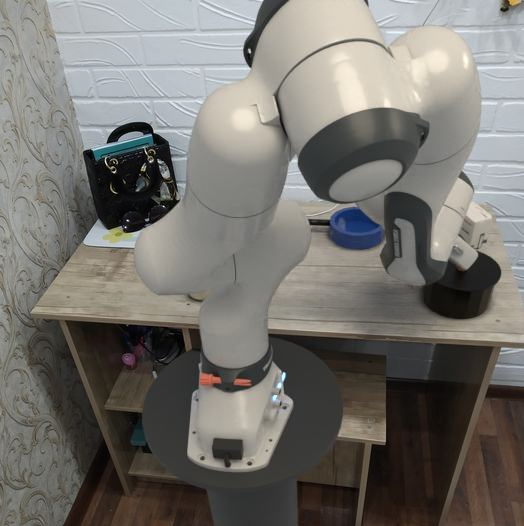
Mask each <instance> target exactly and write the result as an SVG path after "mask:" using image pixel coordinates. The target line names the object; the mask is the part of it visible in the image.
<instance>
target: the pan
mask: <svg viewBox="0 0 524 526" xmlns="http://www.w3.org/2000/svg"><path fill="white" fill-rule="evenodd" d="M329 220H330V226H329V230H328V231H329V233H328V234H329V238H330V240H331V241H332V242H333V243H334V244H335V245H337V246H339V247H341V248H344V249H348V250H357V251H359V250H368V249H372V248H374V247H376V246H378V245H380V244H381V243H382V242H383V241H384V239H385V238H386V236H385V230H384V229H383V228H382V226H381V225H380V224H377V223H375V222H374V221H372V220H371V219H370V218H369V217H368V216H367V215H365V214H364V213H363V212H362V211H361V210H360V209H359V207H358V206H348V207H343V208H341V209H339V210H336V211H335V212H334V213H333V214H332V215H331V216H330V218H329Z"/></svg>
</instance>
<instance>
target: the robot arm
mask: <svg viewBox="0 0 524 526" xmlns="http://www.w3.org/2000/svg"><path fill="white" fill-rule="evenodd" d="M369 5H370V4H369V0H262V2H261V4H260V6H259V9H258V11H257V14H256V18H255V21H254V26H253V30H251V32H250V34H249V35H248V36H247V37H246V38H245V40H244V42H243V48H242V53H243V58H244V61H245V62H246V64H247V66H248V68H249V69H250V71H249V72H248V74H247V76H245V77H244V78H243V79H241V80H239V81H235V82H234V81H233V82H231V83H226V84H224V85H221V86H219V87H217V88H216V89H215V90H213V91H212V92H211V93H209V94H208V95H207V97H206V98H205V99H204V100H203V102H202V103H201V105H200V107H199V109H198V111H197V114H196V116H195V120H194V123H193V125H192V129H191V134H190V137H189V141H188V147H187V153H186V154H187V155H186V173H185V176H186V177H185V179H186V180H185V190H184V195H183V196H182V197H181V199H180V200H179V202H177V203H176V205H175V206H174V207H173V208H172V209H171V210H170V211H168V212H167V214H165V215H164V216H163V217H161V218H160V219H159V220H157V221H156V222H154V223H152V224H150V225H149V226H147V227H145V228H142V229H141V231H140V232H139V234H138V236H137V238H136V240H135V244H134V248H133V264H134V267H135V271H136V273H137V276H138V277H139V279H140V280H141V282H142V283H143V285H144V286H146V288H148V290H150V291H151V292H152V293H154V294H156V295H157V296H180V295H181V296H182V295H189V294H194V293H198V292H202V291H206V290H210V289H214V288H215V289H214V290H213V291H211V292H210V293H209V294H208V295H207V296H206V297H205V299H203V300H202V302H201V305H200V307H199V310H198V313H197V323H198V329H199V335H200V341H201V345H200V349H201V355H200V360H201V363H200V364H199V369H200V376H199V389H198V390H196V391H194V392H193V394H192V403H191V414H190V426H189V437H188V449H187V455H188V458H189V459H190V460H191V461H192V462H193V463H195V464H197V465H199V466H202V467H204V468H208V469H212V470H217V471H224V472H250V471H255V470H259V469H262V468H264V467H266V466H267V465H268V463H269V461H270V459H271V457H272V455H273V452H274V450H275V448H276V446H277V443H278V441H279V439H280V436H281V434H282V432H283V430H284V427H285V425H286V423H287V421H288V418H289V416H290V414H291V412H292V409H293V407H294V405H293V401H292V399H291V398H289V397H288V396H287V395H285V394H284V389H283V380H284V378H285V373H283V375H282V372H281V370H280V369H279V368H278V367H277V366H276V364H275V363H274V362H273V361H272V355H273V354H272V353H273V351H272V345H271V341H270V338H269V337H270V336H269V313H270V307H271V304H272V301H273V298H274V297H275V294H276V293H277V291H278V289H279V288H280V286H281V284H282V283H283V281H284V280H285V279H286V277H287V276H288V275H289V274H290V273H291V272H292V271H293V270H294V269H295V268H296V267H297V266H299V265H300V264H301V263H303V262H304V261H305V259H306V257H307V255H308V252H309V250H310V247H311V243H312V227H311V225H310V224H309V221H308V219H309V218H308V216H307V214H306V213H305V211H304V210H303V208H301V206H300V205H299V204H297V202H295V201H294V200H292V199H291V198H281V197H282V193H283V191H284V188H285V184H286V181H287V176H288V172H289V168H290V163H291V162H292V161H293V159H294V158H295V156H296V157H297V167H298V171H299V172H300V174H301V176H302V177H303V179H304V181H305V183H306V184H307V186H308V188H309V189H310V190H311V192H312V193H313V194H314V195H315V196H316V198H318V199H320V200H322V201H325V202H329V203H333V204H337V205H347V204H349V205H350V204H354V205H356V207H359V209H360V210H361V211H362V212H363V213H364V214H365V215H367V216H368V217H369V218H370V219H371V220H372V221H374V222H375V223H377V224H380V225H381V226H382V228H383V229H384V230H385V243H384V245H383V247H382V249H381V251H380V254H379V258H380V262H381V264H382V267H383V268H384V270H385V272H386V273H387V274H388V275H389V276H390V277H392V278H393V279H394V280H396V281H398V282H400V283H403V284H405V285H409V286H414V287H424V286H426V285H429V284H431V283H433V282H435V281H437V280H439V279H440V278H442V277H443V276H444V273H445V270H446V267H447V264H448V260H449V261H451V262H452V263H454V264H455V265H457V266H458V267H460V268H462V269H464V270H467V269H468V268H469V267H470V266H471V265H472V264H473V263H474V262H475V260H476V259H477V257H478V253H477V252H476V251H475V250H474V249H473V248H472V247H471V246H470V245H469V244H467V243H466V242H465V241H464V240H463V239H461V238H460V237H459V236H458V234H459V231H460V229H461V226H462V224H463V221H464V218H465V216H466V213H467V211H468V208H469V205H470V203H471V201H473V197H474V194H475V187H474V185H473V182H472V181H471V179H470V178H469V177H468V175H467V174H466V173H465V172H464V171H463V169H464V167H465V165H466V163H467V162H468V159H469V157H470V155H471V153H472V150H473V148H474V146H475V143H476V141H477V137H478V135H479V131H480V126H481V120H482V88H481V80H480V75H479V70H478V67H477V63H476V60H475V57H474V55H473V52H472V49H471V48H470V46H469V44H468V42H467V41H466V40H465V38H463V36H461V35H460V34H459V33H457V32H456V31H454V30H453V29H451V28H448V27H445V26H442V25H436V24H435V25H433V24H432V25H431V24H429V25H422V26H418V27H414V28H412V29H410V30H407V31H406V32H404V33H402V34H400V35H399V36H398V37H396V38H395V39H394V40H393V41H392V42H391V43H390V44H389V45H387V42H386V40H385V38H384V35H383V32H382V31H381V29H380V27H379V24H378V23H377V21H376V19H375V17H374V15H373V13H372V11H371V10H370V6H369ZM249 50H250V51H249ZM284 408H285V409H284ZM201 459H204V460H201ZM248 464H252V465H250V466H249V465H248Z"/></svg>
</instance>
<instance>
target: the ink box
mask: <svg viewBox="0 0 524 526" xmlns="http://www.w3.org/2000/svg"><path fill="white" fill-rule="evenodd" d="M493 220H494V217H493V215H492V214H490V213H489V212H488V211H486V210H485V209H484V208H483V207H482V206H481V205H480V204H478V203H477V202H476V201H475V200H471V203H470V205H469V208H468V211H467V213H466V216H465V218H464V221H463V224H462V226H461V229H460V231H459V234H458V236H459V237H460V238H461V239H463V240H464V241H465V242H466V243H467V244H469V245H470V246H471V247H472V248H473V249H474V250H476V251H479V252H482V253H484V254H485V251H486V246H487V243H488V239H489V234H490V231H491V227H492V223H493Z"/></svg>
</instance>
